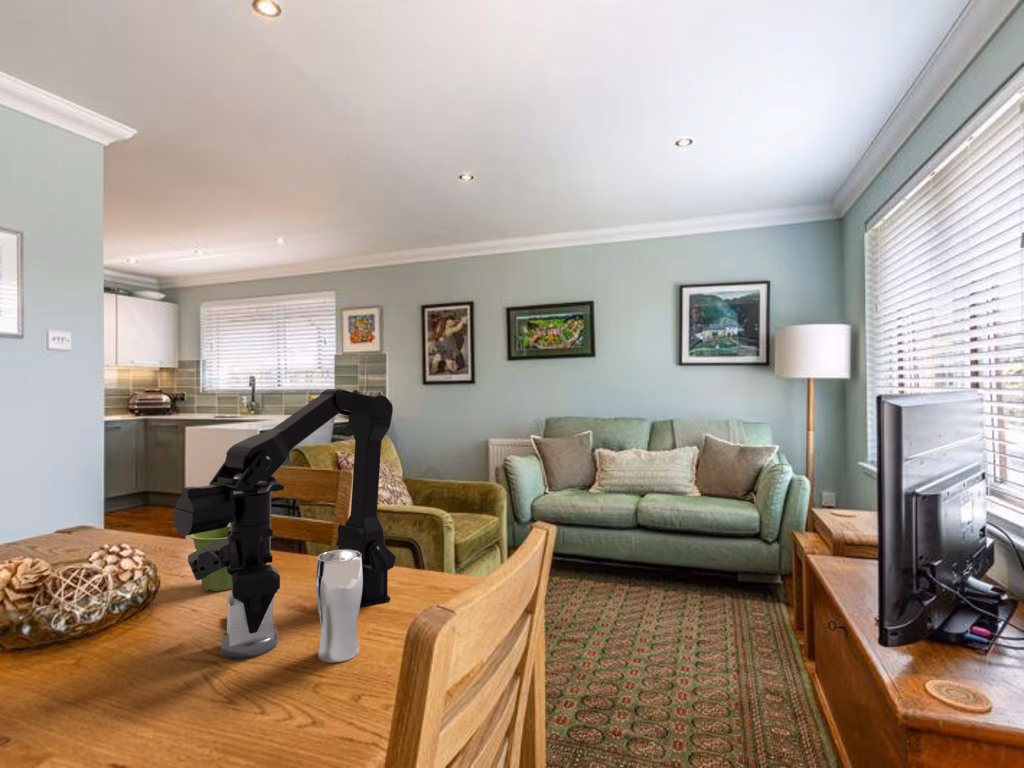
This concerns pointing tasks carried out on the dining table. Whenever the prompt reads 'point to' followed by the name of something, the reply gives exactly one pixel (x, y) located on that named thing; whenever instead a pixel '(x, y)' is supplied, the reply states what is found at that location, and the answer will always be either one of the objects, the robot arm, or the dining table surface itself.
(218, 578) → the plant pot
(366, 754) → the dining table surface
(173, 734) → the dining table surface
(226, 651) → the ratchet
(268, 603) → the robot arm
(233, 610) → the cube with round boss
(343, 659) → the beer glass
